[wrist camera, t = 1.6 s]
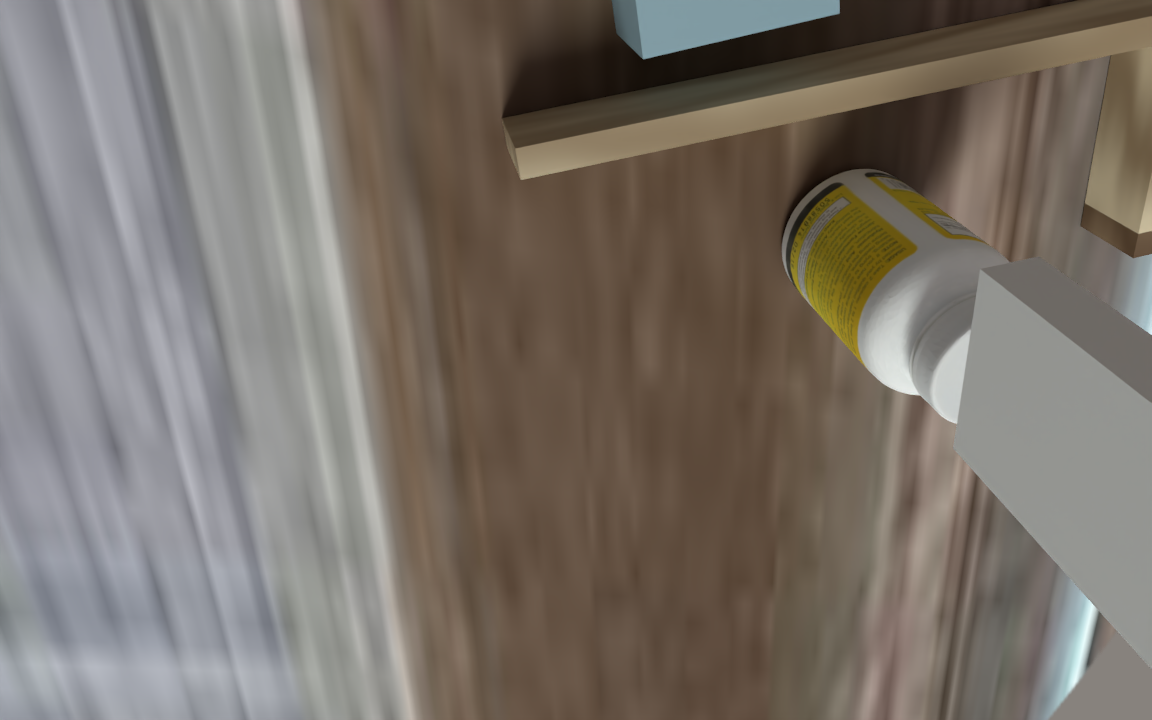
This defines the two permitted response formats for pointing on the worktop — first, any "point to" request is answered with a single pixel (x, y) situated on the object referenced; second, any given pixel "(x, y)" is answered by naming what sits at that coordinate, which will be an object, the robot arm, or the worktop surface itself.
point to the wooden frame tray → (888, 100)
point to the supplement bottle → (890, 280)
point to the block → (706, 20)
